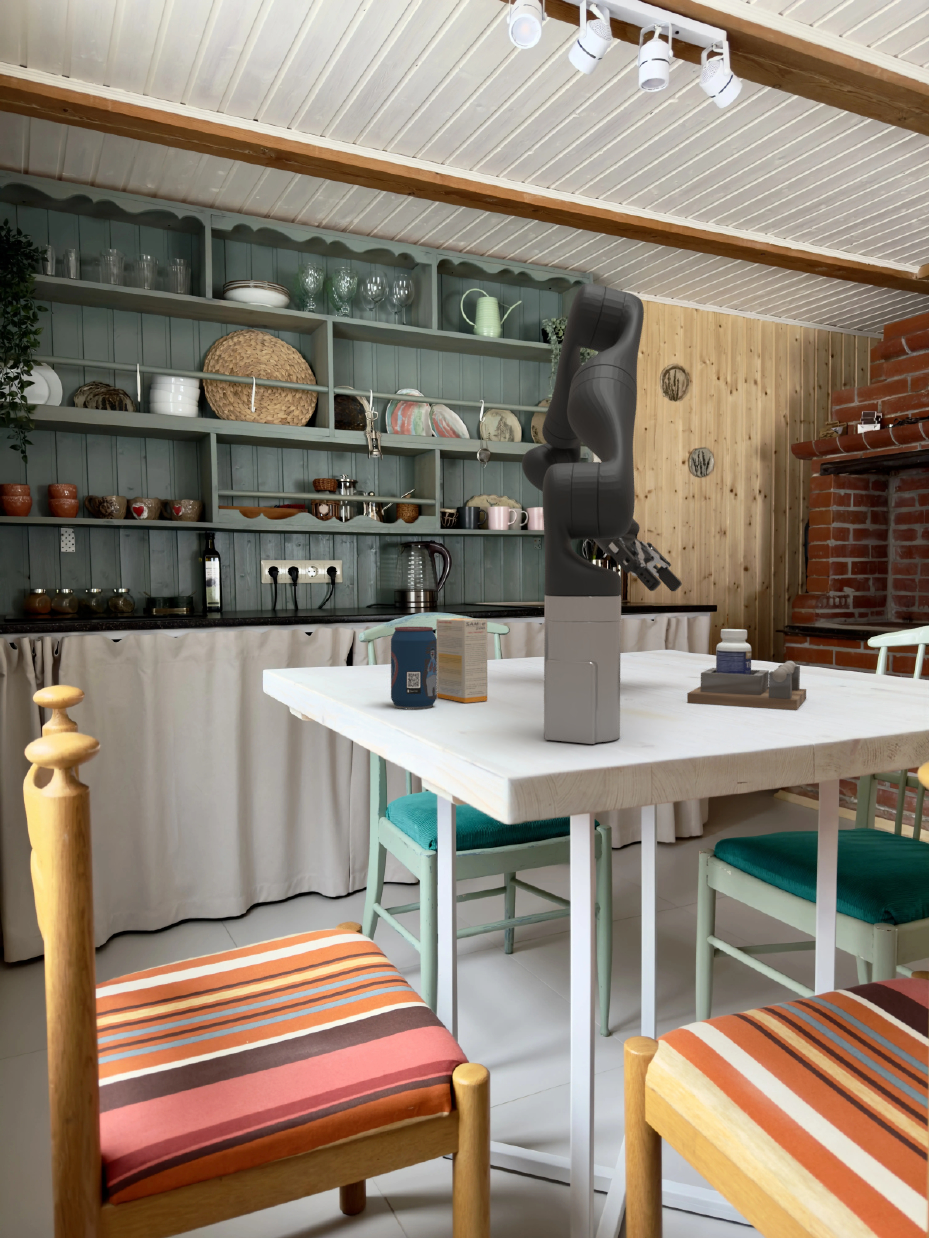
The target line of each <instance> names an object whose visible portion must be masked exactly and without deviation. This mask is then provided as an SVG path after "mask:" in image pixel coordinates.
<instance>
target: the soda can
mask: <svg viewBox="0 0 929 1238" xmlns="http://www.w3.org/2000/svg"><path fill="white" fill-rule="evenodd" d="M394 630H395V631H394V632H393V634H392V636H391V639H390V699H391V701H392V703H393V704H394V707H395V708H397V709H401V708H407V709H406V710H424V709H423V708H425V709H430V708H432V707H433V706H434V705H435V703H436V701H437V698H438V697H437V636H436V635H435V632H434V631H433V630H434V628H433V627H431V626H395V627H394Z"/></svg>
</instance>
